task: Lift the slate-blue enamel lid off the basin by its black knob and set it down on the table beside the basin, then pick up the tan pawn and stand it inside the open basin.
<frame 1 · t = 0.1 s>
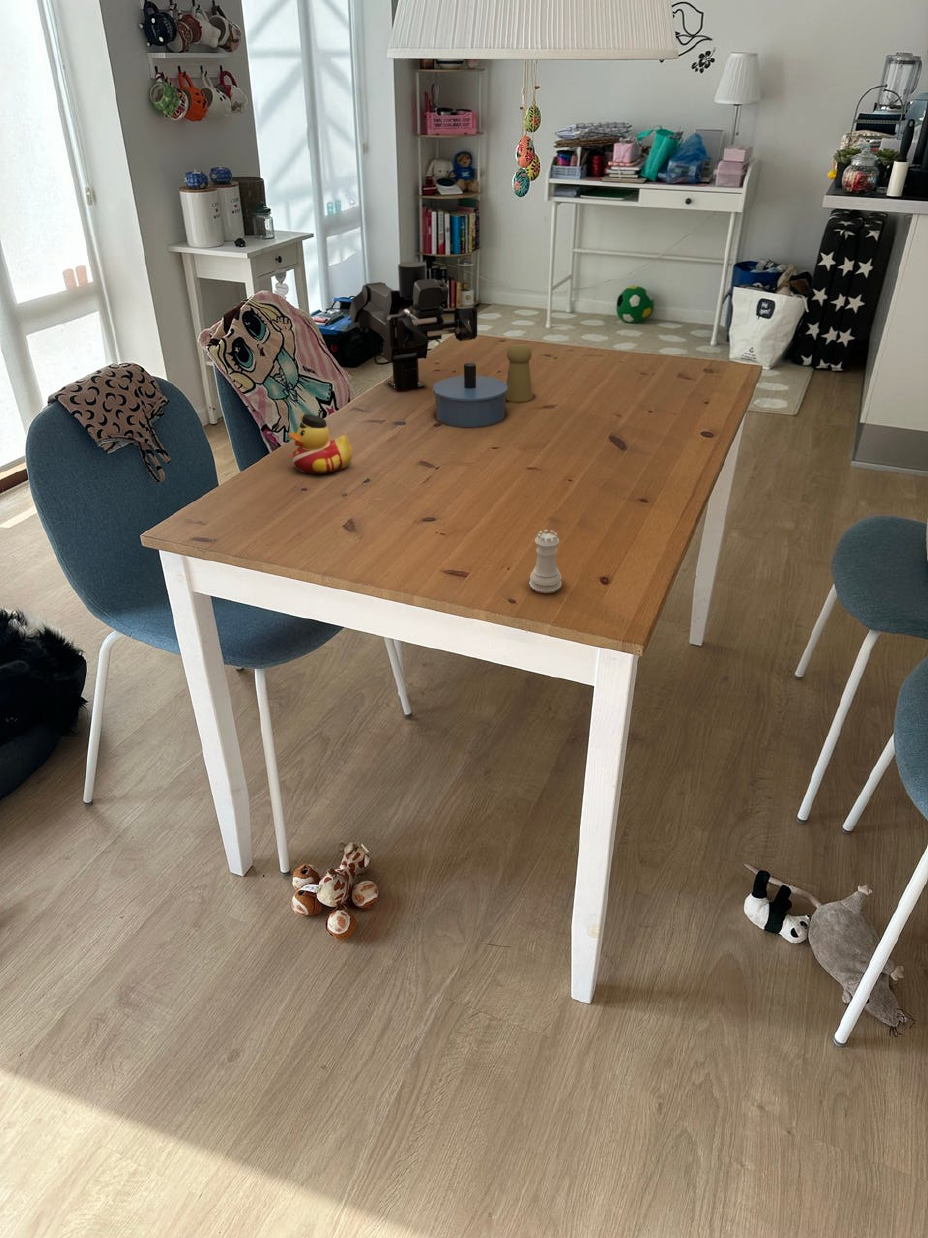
hand: (448, 337, 168), 17 cm above the table, tool horizontal, fingers open, 9 cm apart
lid: (470, 389, 177), point 5 cm above the table, touching basin
toy: (323, 468, 157), on the table
tan pawn: (518, 397, 189), on the table
basin: (470, 415, 180), on the table
rook chess piece: (545, 587, 121), on the table
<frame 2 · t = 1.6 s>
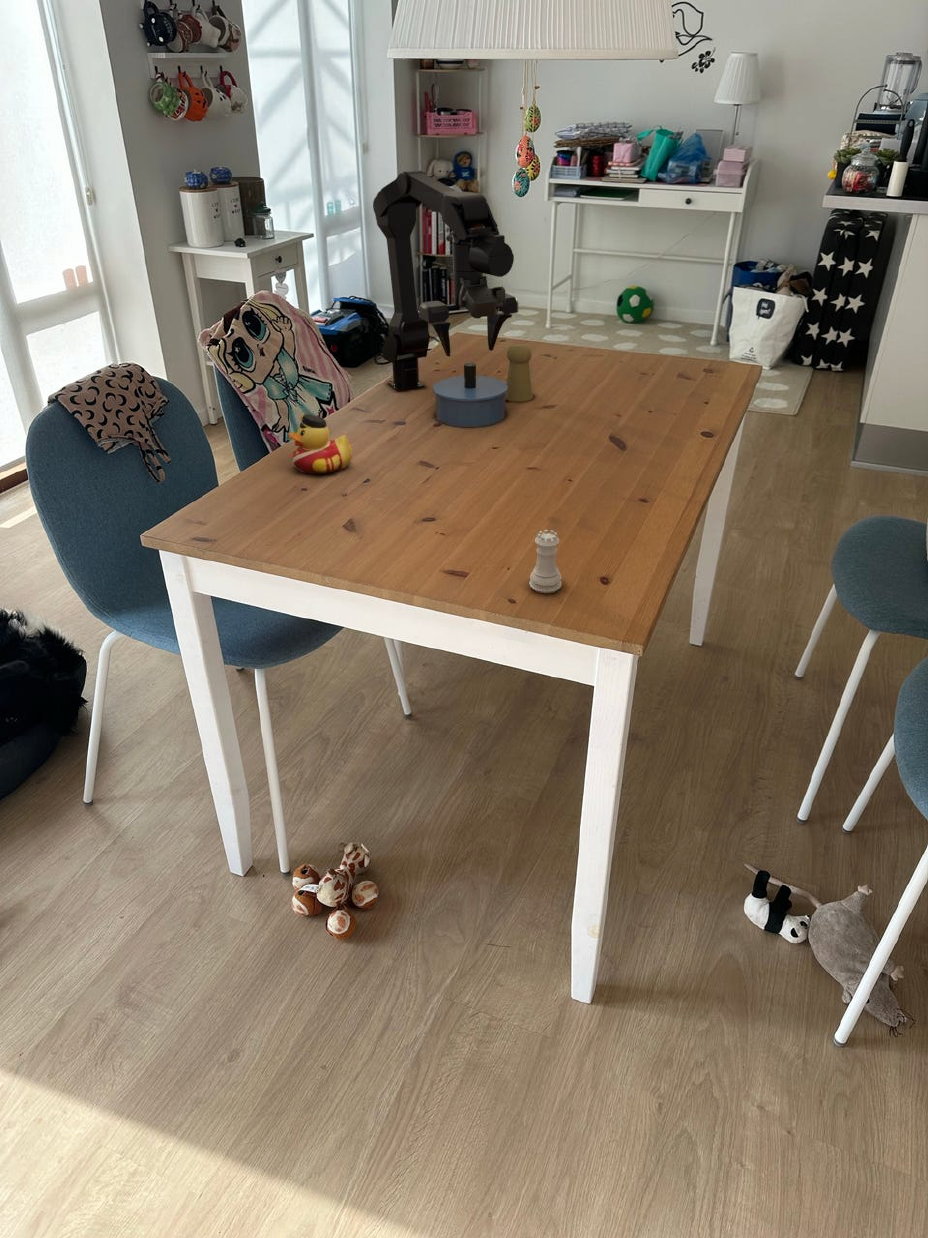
hand: (469, 353, 173), 13 cm above the table, tool pointing down, fingers open, 9 cm apart
nothing on the table moved.
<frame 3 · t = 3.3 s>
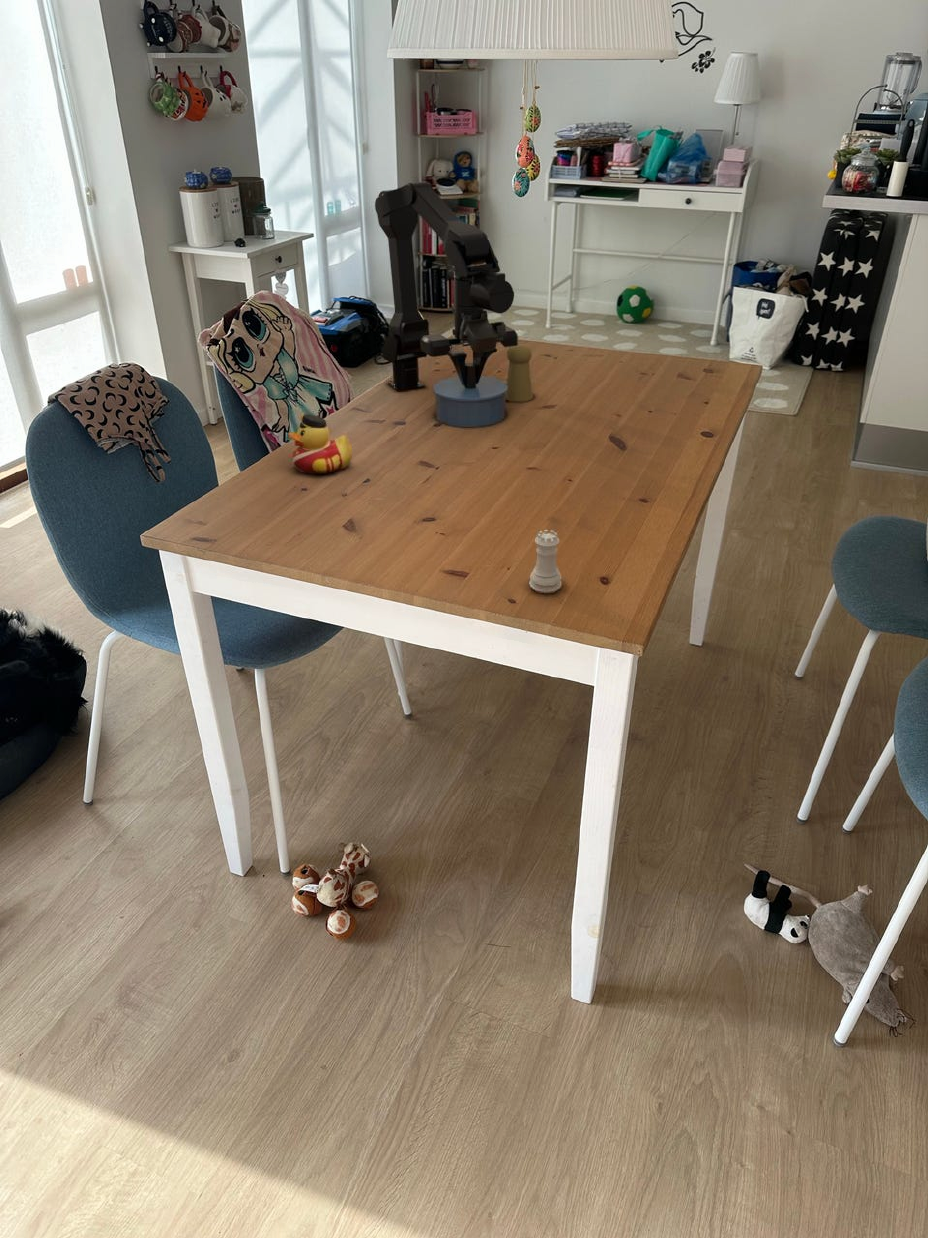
hand: (470, 384, 176), 6 cm above the table, tool pointing down, fingers closed on lid, 2 cm apart
lid: (470, 389, 177), point 5 cm above the table, touching basin, gripper
everything else where it was.
when the fingers open (2 cm above the table, at t = 8.6 s): lid stays where it is, point 1 cm above the table.
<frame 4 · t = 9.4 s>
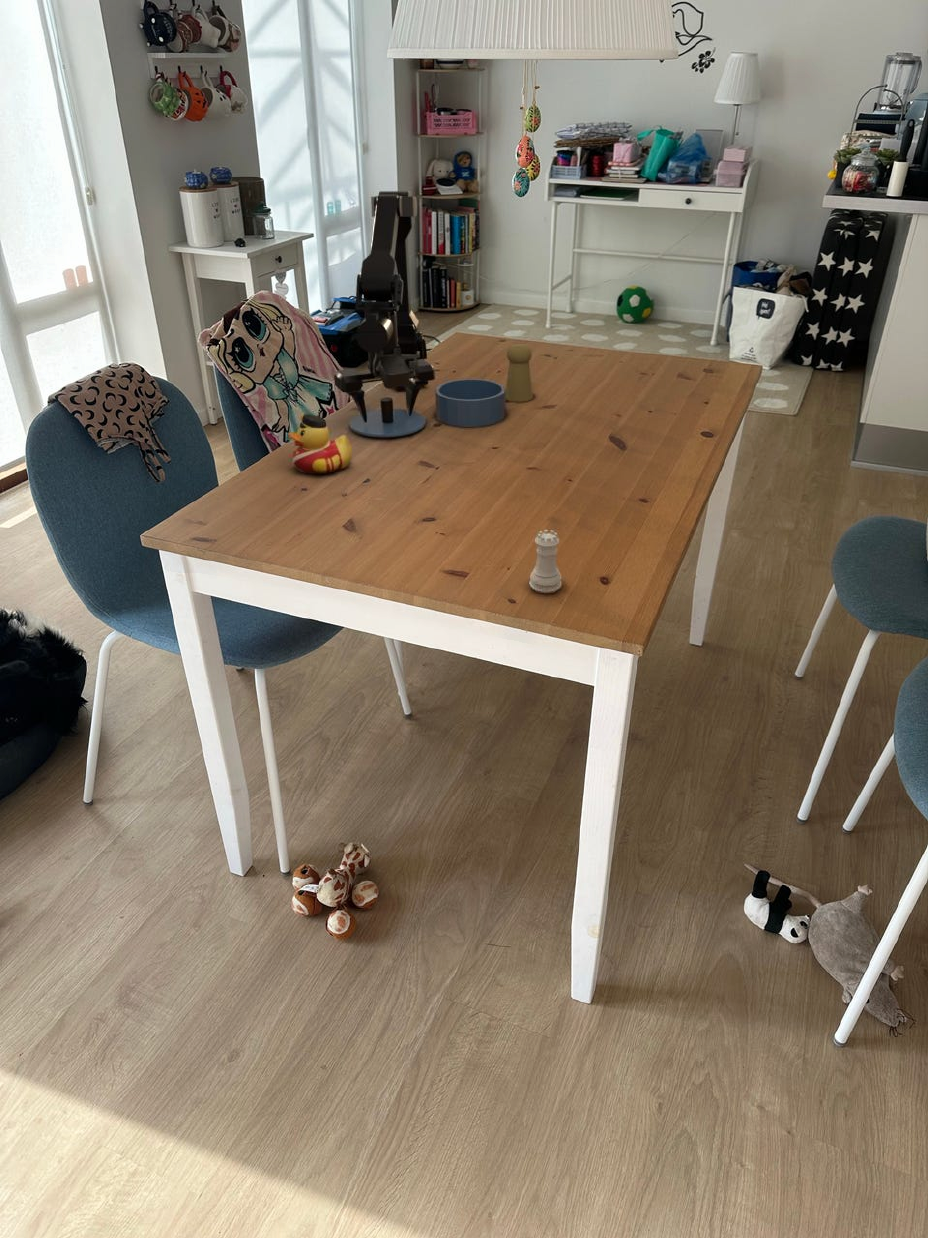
hand: (387, 418, 174), 2 cm above the table, tool pointing down, fingers open, 9 cm apart
lid: (388, 423, 174), point 1 cm above the table
everything else where it was.
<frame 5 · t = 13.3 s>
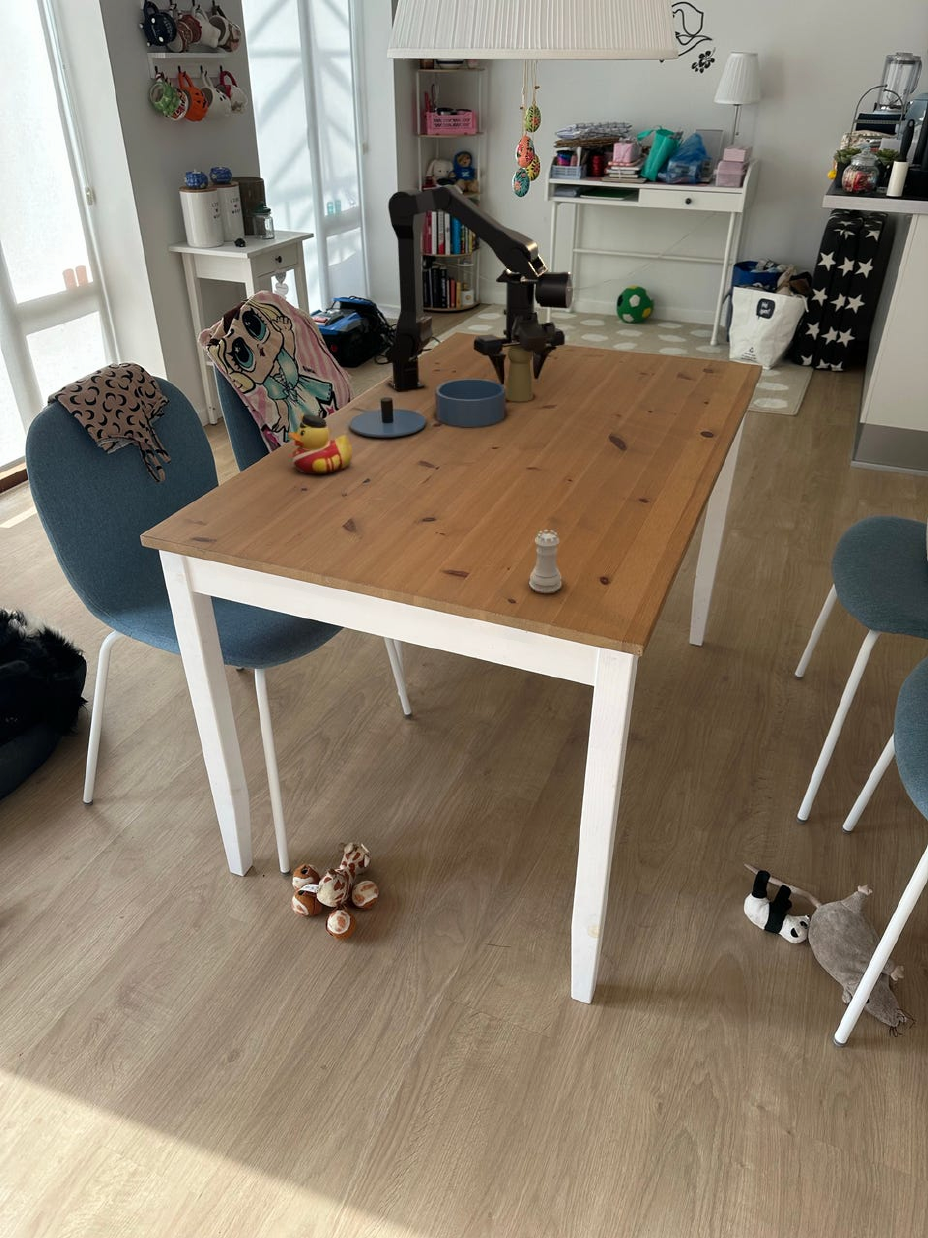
hand: (519, 381, 187), 3 cm above the table, tool pointing down, fingers closed on tan pawn, 8 cm apart
tan pawn: (518, 397, 189), on the table, touching gripper
everything else where it was.
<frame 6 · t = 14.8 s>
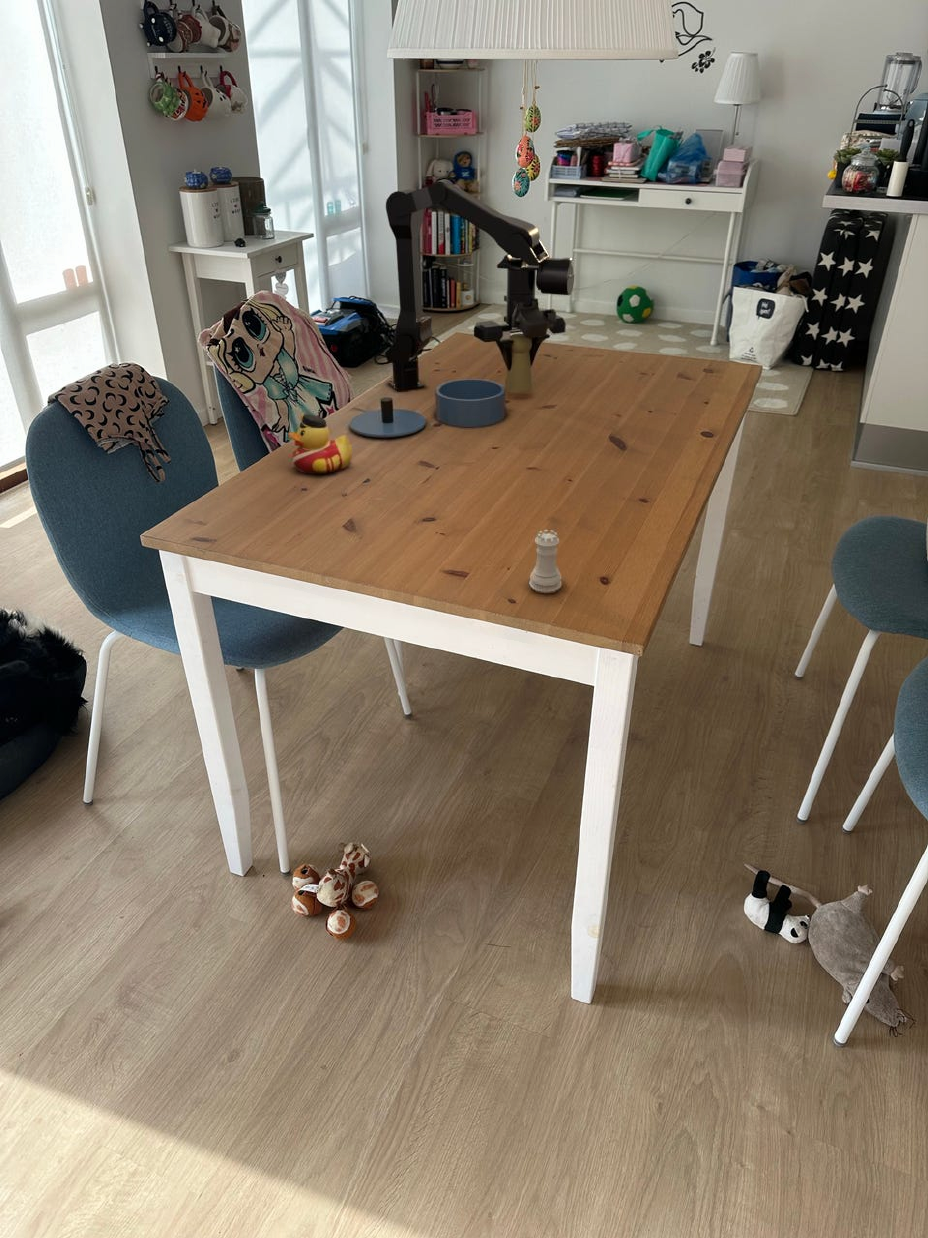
hand: (519, 369, 186), 6 cm above the table, tool pointing down, fingers closed on tan pawn, 4 cm apart
tan pawn: (518, 387, 188), point 2 cm above the table, touching gripper
everything else where it was.
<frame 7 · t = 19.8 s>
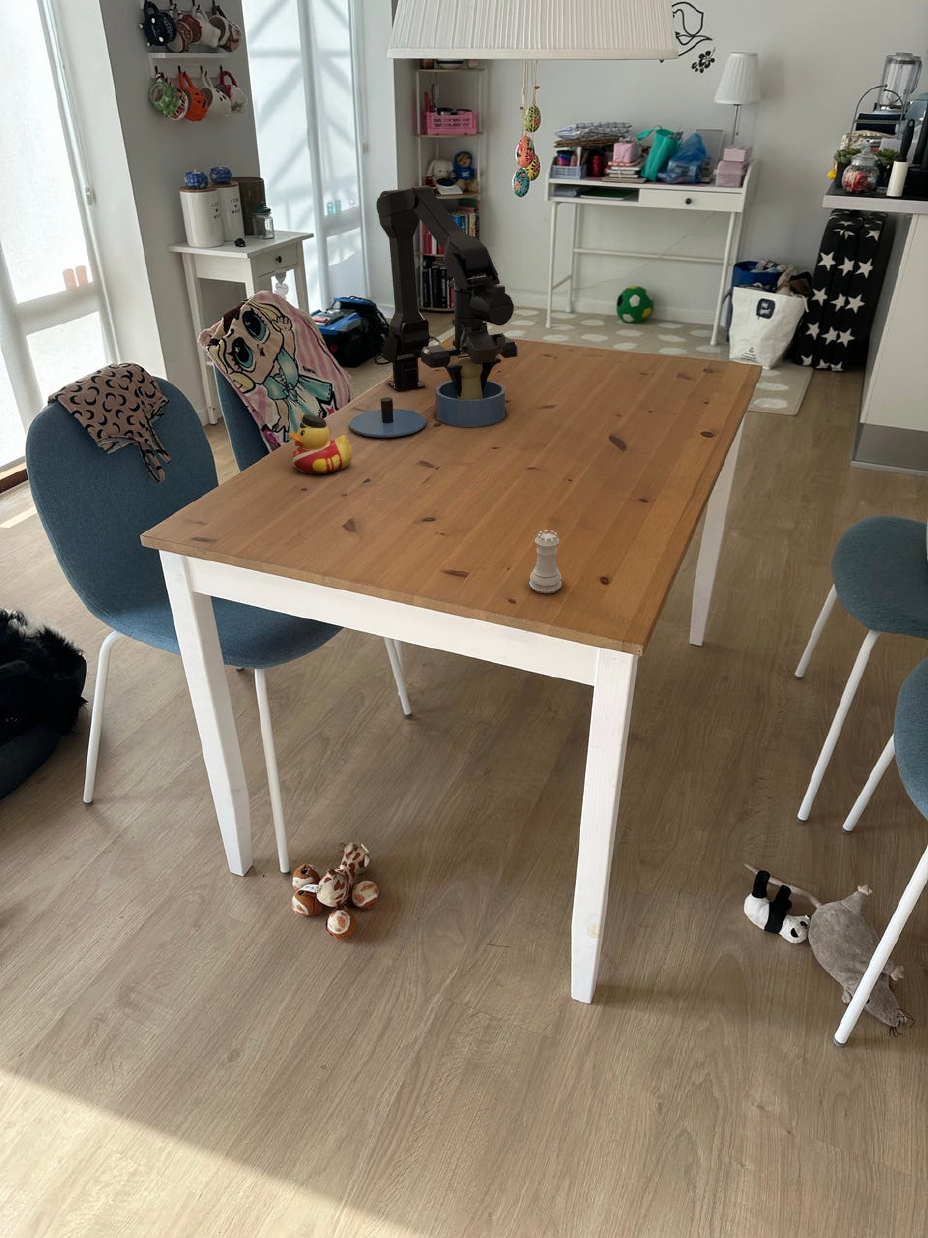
hand: (470, 394, 177), 4 cm above the table, tool pointing down, fingers closed on tan pawn, 4 cm apart
tan pawn: (470, 413, 180), resting on basin, touching gripper
everything else where it was.
when the fingers open (4 cm above the table, at t = 19.8 s): tan pawn stays where it is, resting on basin.
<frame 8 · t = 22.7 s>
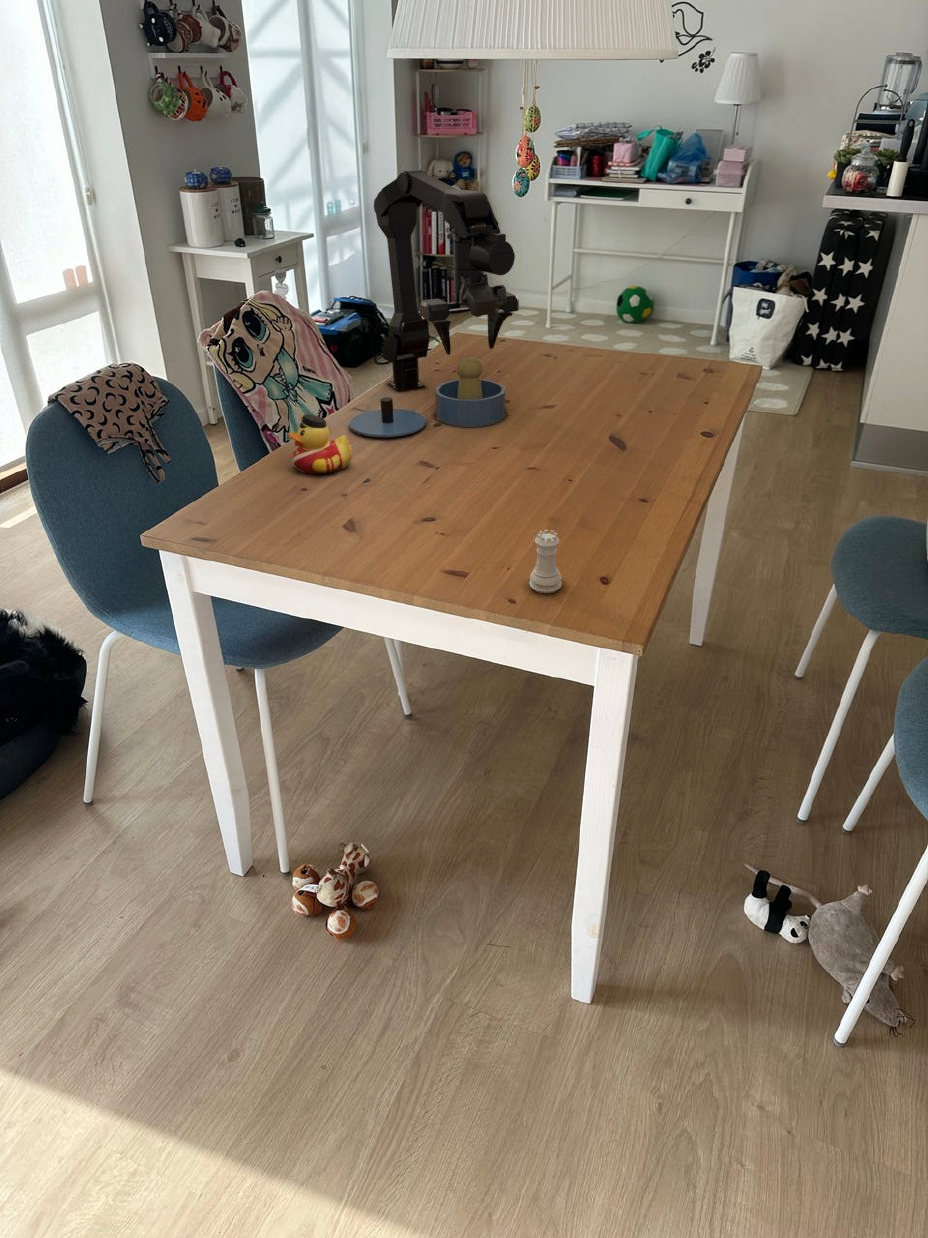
hand: (469, 351, 173), 13 cm above the table, tool pointing down, fingers open, 9 cm apart
tan pawn: (470, 413, 180), resting on basin
everything else where it was.
at the end: lid inside the target area (0.0 cm from its centre), point 0.6 cm above the table; tan pawn inside the target area in the basin (0.2 cm from its centre), point 0.2 cm above the basin's base; tan pawn tilted 0° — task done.
